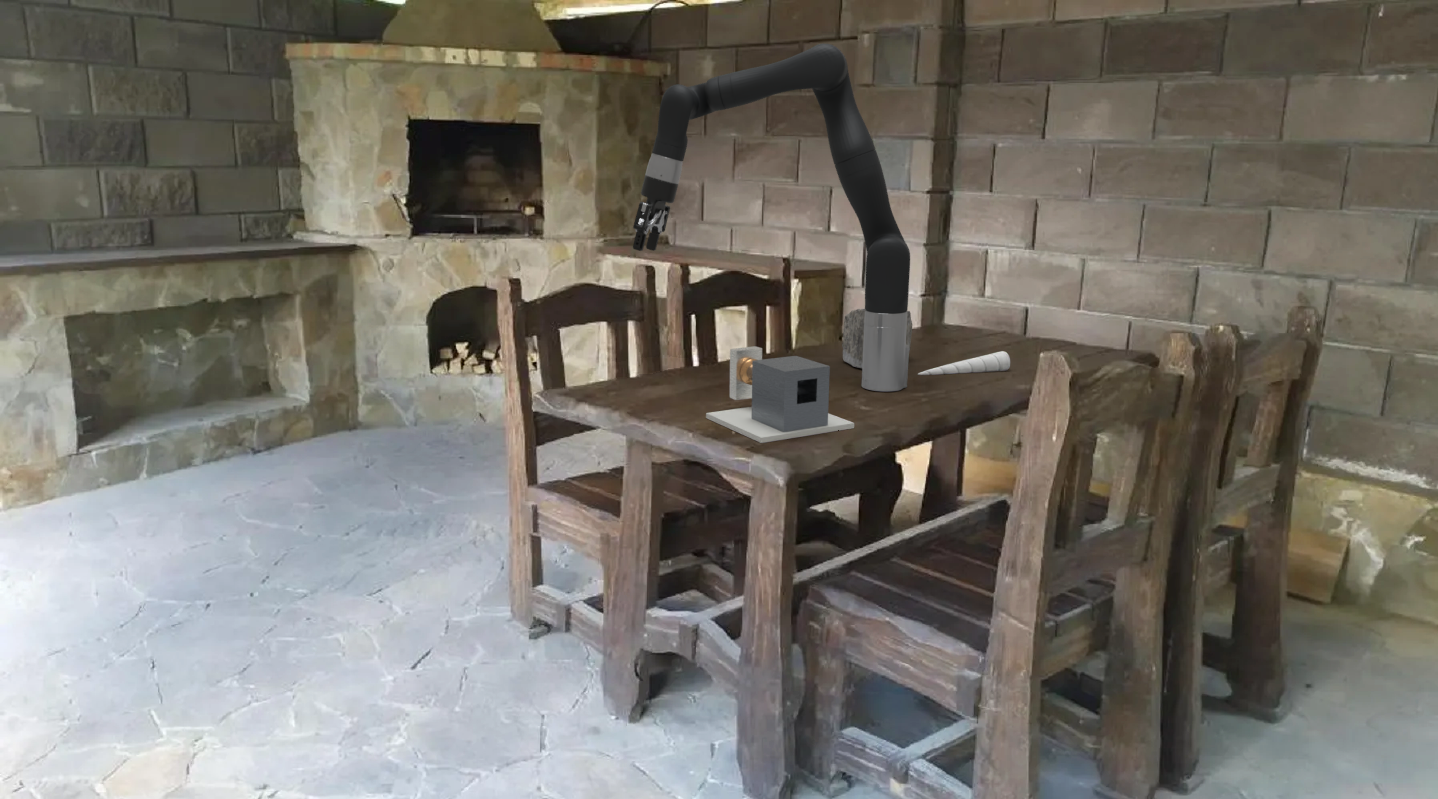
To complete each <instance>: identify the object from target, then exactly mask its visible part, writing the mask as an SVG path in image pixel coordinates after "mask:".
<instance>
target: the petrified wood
mask: <svg viewBox="0 0 1438 799" xmlns="http://www.w3.org/2000/svg"><path fill="white" fill-rule="evenodd" d="M911 314H912V313H911V311H910V310H907V329H906V344H907V345H908V346H909V352H910V350H911V341H912V333H913V320H912V315H911ZM864 316H865V308H857V309H854V310H850V312H849V313H846V314H845V315H844V320H843V321H844V322H843V328H842V343H841V345H842V346H841V347H842V359H843V361H844V363H847V364H849V365H850V366H852V367H855V368H858V369H862V364H863V341H864ZM909 359H910V358H909ZM909 359H908V362H909Z"/></svg>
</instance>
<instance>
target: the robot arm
mask: <svg viewBox="0 0 1438 799" xmlns="http://www.w3.org/2000/svg"><path fill="white" fill-rule="evenodd" d="M848 66H849V65H848V62H847V59H846V56H845V55H844V53H843V52H842V51H841V50H840V49H839V48H838V47H837V46H835V45H833V44H830V43H819V44H816V45H813V47H810V48H808V49H806V50H804V51H802V52H800V53H797V54H795V55H793V56H790V57H787V58H785V59H782V60H778V61H776V62H772V63H769V64H765V65H760V66H755V67H751V68H746V69H743V70H742V69H741V70H738V71H737V70H736V71H733V72H729V73H726V74H721V75H717V76H714V77H711V78H709V79H708V80H707V81H706V82H702V83H699V84H695V85H690V86H686V85H683V84H678V83H677V84H673V85H671V86H668V88H667V89H666V90H665V92H664V93H663V95H662V98H661V101H660V106H659V113H658V122H657V133H656V136H655V140H654V143H653V148H652V151H651V156H650V158H649V160H648V163H647V167H646V171H645V175H644V179H643V183H642V187H641V192H640V194H641V195H642V196H643V197H645V198H646V201H645V202H643V201H640V202H639V203H638V209H637V212H636V215H635V218H634V223H633V225H632V226H633V227H632V228H633V229H634V230H635V232H636V234H635V236H634V241H633V245H632V248H633V250H635V251H640V252H641V251H643V250H644V246H645V248H646V249H647V250H650V251H654V252H655V251H656V250H657V246H658V244H659V240H660V235H662V233H664V232H665V231H666V227H667V223H668V219H669V214H670V210H671V206H670V205H667V204H666V203H668V204H674V202H675V199H676V195H677V192H678V188H679V184H680V179H681V176H682V172H683V171H682V170H683V163H684V159H685V154H686V151H687V147H688V140H689V139H688V135H687V134H688V133H687V132H688V127H689V122H690V121H691V120H694V119H698V118H701V117H704V116H707V115H710V114H712V113H714V112H718V111H724V110H728V109H733V108H736V107H740V106H744V105H748V104H751V103H754V102H758V101H760V100H763V99H765V98H769V97H771V96H774V95H777V94H781V93H785V92H791V91H798V90H812V91H813V94H814V96H815V98H816V101H817V103H818V105H819V108H820V110H821V112H822V115H823V118H824V124H825V128H826V133H827V140H828V144H829V150H830V153H831V157H832V162H833V164H834V167H835V170H836V173H837V176H838V180H839V182H840V184H841V187H842V190H843V191H844V194H845V196H846V198H847V200H848V202H849V205H850V206H851V207H852V209H853V211H854V213H855V215H856V217H857V219H858V222H859V225H860V228H861V232H862V235H863V240H864V243H865V248H866V261H865V284H864V285H865V287H864V309H865V316H864V341H863V364H862V368H861V387H862V388H863V389H866V390H869V391H875V392H898V391H901V390H903V389H904V388H905V389H906V388H907V387H908V375H909V361H908V359H910V358H909V356H910V355H909V354H910V351H909V346H908V345H907V344H906V329H907V311H909V310H908V306H909V292H910V291H909V290H910V288H909V287H910V272H911V271H910V270H911V252H910V249H909V246H908V244H907V242H906V241H905V238H904V236H903V234H902V233H901V230H900V227H899V226H898V223H897V222H896V219H895V216H894V214H893V211H892V207H891V203H890V198H889V194H888V188H887V183H886V179H885V177H884V171H883V169H882V164H881V161H880V159H879V155H878V153H877V150H876V147H875V144H874V141H873V138H872V137H871V134H870V132H869V129H868V128H867V125H866V122H865V120H864V118H863V117H862V115H861V113H860V110H859V109H858V106H857V102H856V98H855V96H854V91H853V87H852V84H851V77H850V74H849V68H848ZM649 230H650V232H649ZM648 233H649V234H648ZM647 235H648V237H647ZM646 240H647V242H646ZM645 243H646V244H645Z"/></svg>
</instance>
